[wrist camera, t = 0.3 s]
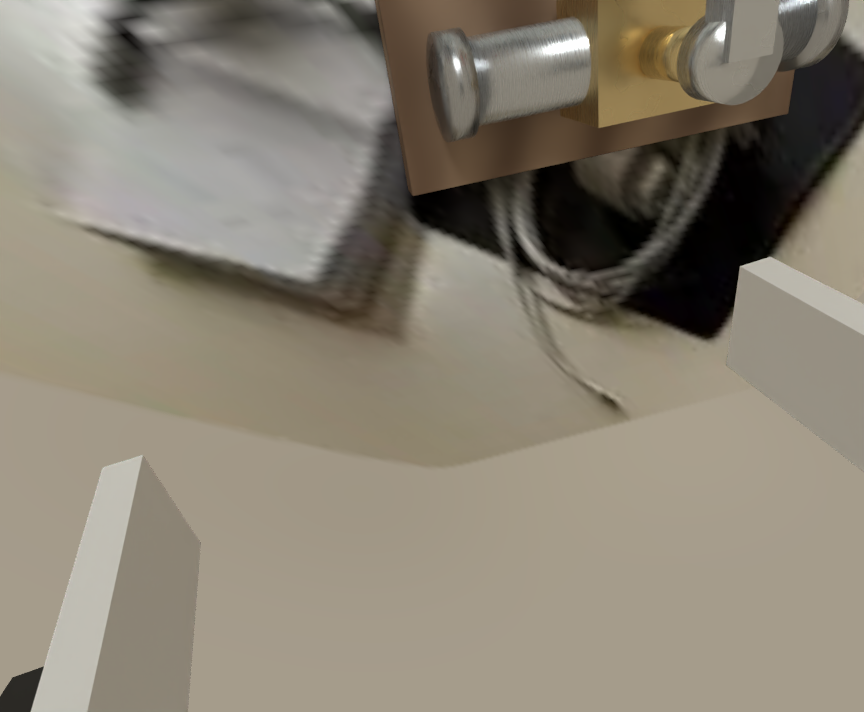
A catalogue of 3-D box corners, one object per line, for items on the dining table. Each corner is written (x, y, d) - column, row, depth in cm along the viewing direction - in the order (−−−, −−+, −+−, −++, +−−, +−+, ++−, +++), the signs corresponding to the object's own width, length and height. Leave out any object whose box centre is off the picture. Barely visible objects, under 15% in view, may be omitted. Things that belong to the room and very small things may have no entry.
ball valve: (436, 139, 35) (482, 173, 26) (420, 25, 31) (466, 24, 23) (767, 70, 37) (902, 81, 29) (782, -43, 34) (938, -66, 26)
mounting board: (408, 190, 37) (412, 196, 36) (369, -31, 31) (372, -34, 30) (771, 110, 40) (787, 113, 39) (802, -107, 34) (822, -113, 32)
